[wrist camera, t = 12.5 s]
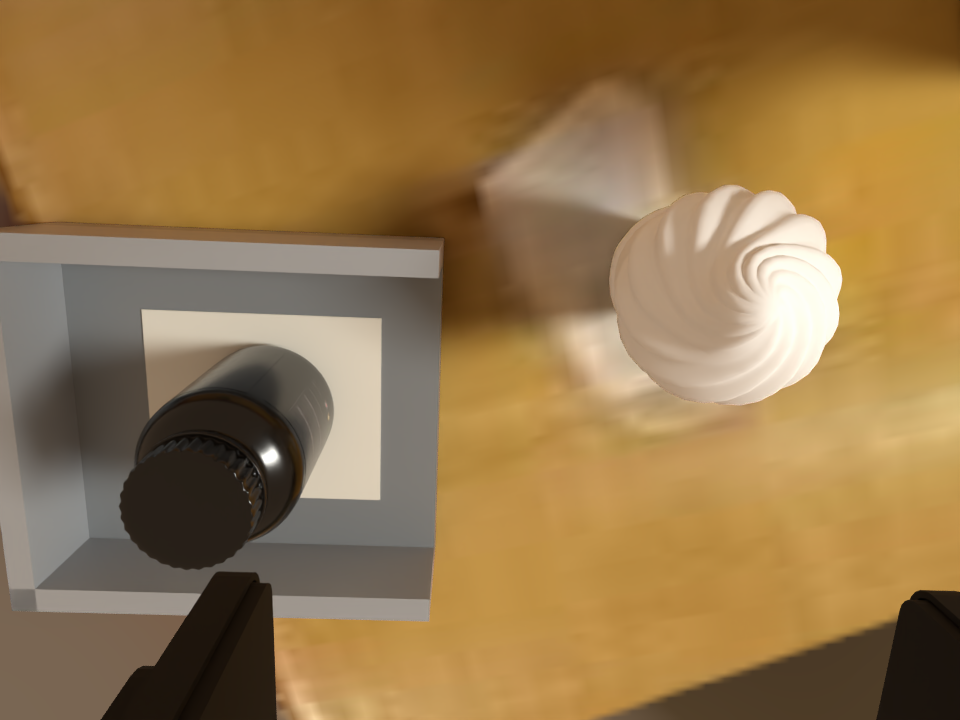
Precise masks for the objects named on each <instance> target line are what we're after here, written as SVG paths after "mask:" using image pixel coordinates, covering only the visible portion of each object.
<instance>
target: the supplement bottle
mask: <svg viewBox="0 0 960 720" xmlns="http://www.w3.org/2000/svg"><path fill="white" fill-rule="evenodd" d="M333 418H334V404H333V398H332V395H331V391H330V389H329V386H328V384H327V382H326V381H325V379H324V377H323V376H322V374H321V373H320V372H319V371H318V369H317V368H316V367H315V366H314V365H313V364H312V363H311V362H309V361H308V360H307V359H305V358H304V357H302V356H301V355H299V354H297V353H295V352H293V351H291V350H288V349H285V348H281V347H277V346H269V345H258V346H250V347H246V348H243V349H240V350H237V351H235V352H233V353H231V354H229V355H228V356H226V357H224V358H223V359H222V360H220V361H219V362H218V363H216V364H215V365H214V366H212V367H211V368H210V369H209V370H207V371H206V372H205V373H203V374H202V375H201V376H200V377H198V378H197V379H196V380H195V381H193V382H192V383H191V384H190V385H188V386H187V387H186V388H185V389H183V390H182V391H181V392H179V393H178V394H177V395H176V396H174V397H173V398H172V399H171V400H169V401H168V402H167V403H166V404H164V405H163V406H162V407H161V408H160V409H159V410H158V411H157V412H156V413H155V414H154V415H153V416H152V417H151V418H150V420H149V421H148V422H147V424H146V425H145V427H144V428H143V430H142V432H141V434H140V437H139V439H138V442H137V445H136V449H135V456H134V468H133V469H132V470H131V471H130V473H129V476H128V478H127V479H126V480H125V481H124V483H123V490H122V492H121V493H120V499H121V502H120V504H119V508H120V511H121V517H120V518H121V520H122V522H123V523H124V530H125V531H126V532H127V533H128V534H129V535H130V539H131V541H133V542H134V543H135V544H137V546H138V548H139V550H141V551H143V552H145V553H146V554H147V555H148V556H149V557H150V558H152V559H156V560H157V561H158V562H159V563H161V564H165V565H169V566H171V567H172V568H182V569H184V570H190V569H197V570H200V569H202V568H204V567H213V566H214V565H215V564H220V563H224V562H225V561H226V560H227V558H231V557H233V556H234V555H235V554H236V553H237V551H238V550H240V549H241V548H243V546H244V545H245V543H247V542H250V541H253V540H256V539H258V538H260V537H263V536H264V535H266V534H268V533H270V532H271V531H272V530H274V529H275V528H277V527H278V526H279V525H280V524H281V523H282V522H283V521H284V520H285V519H286V518H287V517H288V515H289V514H290V513H291V511H292V510H293V508H294V507H295V505H296V503H297V502H298V500H299V498H300V496H301V494H302V492H303V490H304V488H305V485H306V483H307V481H308V479H309V477H310V475H311V473H312V471H313V469H314V467H315V465H316V462H317V460H318V458H319V456H320V454H321V452H322V450H323V448H324V446H325V443H326V441H327V439H328V437H329V434H330V431H331V428H332V424H333Z"/></svg>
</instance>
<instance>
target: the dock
mask: <svg viewBox="0 0 960 720" xmlns="http://www.w3.org/2000/svg"><path fill="white" fill-rule="evenodd" d="M443 261H444V238H434V237H409V236H385V235H361V234H336V233H312V232H288V231H263V230H239V229H214V228H190V227H166V226H141V225H117V224H92V223H68V222H50V223H39V224H29V225H18V226H8V227H0V526H1V533H2V540H3V547H4V555H5V562H6V569H7V576H8V584H9V591H10V599H11V606H12V611H37V612H41V611H42V612H78V613H117V614H157V615H159V614H160V615H188V614H189V612H190V611H191V609H192V608H193V606H194V604H195V603H196V601H197V600H198V598H199V597H200V595H201V594H202V592H203V591H204V589H205V587H206V586H207V584H208V583H209V581H210V580H211V578H212V577H213V575H214V574H215V573H216V572H219V571H226V572H256V573H257V574H258V576H259V579H260V583H270V584H271V587H272V597H273V617H276V618H316V619H356V620H396V621H429V615H430V603H431V592H432V580H433V568H434V556H435V535H436V501H437V467H438V433H439V398H440V364H441V330H442V295H443ZM258 345H269V346H277V347H281V348H285V349H288V350H291V351H293V352H295V353H297V354H299V355H301V356H302V357H304V358H305V359H307V360H308V361H309V362H311V363H312V364H313V365H314V366H315V367H316V368H317V369H318V371H319V372H320V373H321V374H322V376H323V377H324V379H325V381H326V382H327V384H328V386H329V389H330V391H331V395H332V398H333V404H334V418H333V424H332V428H331V431H330V434H329V437H328V439H327V441H326V443H325V446H324V448H323V450H322V452H321V454H320V456H319V458H318V460H317V462H316V465H315V467H314V469H313V471H312V473H311V475H310V477H309V479H308V481H307V483H306V485H305V488H304V490H303V492H302V494H301V496H300V498H299V500H298V502H297V503H296V505H295V507H294V508H293V510H292V511H291V513H290V514H289V515H288V517H287V518H286V519H285V520H284V521H283V522H282V523H281V524H280V525H279V526H278V527H277V528H275V529H274V530H272V531H271V532H270V533H268V534H266V535H264V536H263V537H260V538H258V539H256V540H253V541H250V542H247V543H245V545H244V546H243V548H241V549H240V550H238V551H237V553H236V554H235V555H234V556H233V557H231V558H227V560H226V561H225V562H224V563H220V564H215V565H214V566H213V567H204V568H202V569H200V570H197V569H190V570H184V569H182V568H172V567H171V566H169V565H165V564H161V563H159V562H158V561H157V560H156V559H152V558H150V557H149V556H148V555H147V554H146V553H145V552H143V551H141V550H139V548H138V546H137V544H135V543H134V542H133V541H131V539H130V535H129V534H128V533H127V532H126V531H125V530H124V523H123V522H122V520H121V518H120V517H121V511H120V508H119V504H120V502H121V499H120V493H121V492H122V490H123V483H124V481H125V480H126V479H127V478H128V476H129V473H130V471H131V470H132V469H133V468H134V456H135V449H136V445H137V442H138V439H139V437H140V434H141V432H142V430H143V428H144V427H145V425H146V424H147V422H148V421H149V420H150V418H151V417H152V416H153V415H154V414H155V413H156V412H157V411H158V410H159V409H160V408H161V407H162V406H163V405H164V404H166V403H167V402H168V401H169V400H171V399H172V398H173V397H174V396H176V395H177V394H178V393H179V392H181V391H182V390H183V389H185V388H186V387H187V386H188V385H190V384H191V383H192V382H193V381H195V380H196V379H197V378H198V377H200V376H201V375H202V374H203V373H205V372H206V371H207V370H209V369H210V368H211V367H212V366H214V365H215V364H216V363H218V362H219V361H220V360H222V359H223V358H224V357H226V356H228V355H229V354H231V353H233V352H235V351H237V350H240V349H243V348H246V347H250V346H258Z"/></svg>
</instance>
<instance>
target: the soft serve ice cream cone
mask: <svg viewBox="0 0 960 720" xmlns="http://www.w3.org/2000/svg"><path fill="white" fill-rule="evenodd" d="M841 284H842V275H841V270H840V267H839V266H838V265H837V263H836V262H835V261H834V260H833V259H832V257H831V256H830V255H828V254H826V236H825V231H824V229H823V227H822V225H821V223H820V222H819V221H818V220H816V219H815V218H813V217H810V216H807V215H805V214H796V211H795V208H794V206H793V205H792V203H791V202H790V201H789V200H788V199H787V198H786V197H785V196H784V195H783V194H782V193H780V192H776V191H771V190H768V191H761V192H759V193H757V194H755V195H754V194H753V193H752V192H750V191H749V190H747V189H745V188H743V187H741V186H738V185H723V186H721V187H719V188H717V189H715V190H713V191H712V192H710V193H705V192H697V193H692V194H687V195H684V196H682V197H681V198H679V199H678V200H676V201H675V202H673V203H672V204H671V205H670V206H668V207H665V208H662V209H659V210H656V211H654V212H652V213H651V214H649V215H647V216H645V217H644V218H642V219H641V220H640V221H639V222H637V223H636V224H635V225H634V226H633V227H632V228H631V229H630V230H629V231H628V232H627V234H626V235H625V236H624V237H623V239H622V240H621V241H620V242H619V244H618V245H617V247H616V249H615V251H614V255H613V258H612V264H611V267H610V276H609V286H610V296H611V299H612V302H613V306H614V309H615V310H616V312H617V323H618V328H619V333H620V338H621V340H622V342H623V344H624V346H625V348H626V351H627V353H628V355H629V356H630V357H631V358H632V359H633V360H634V362H635V363H636V364H637V365H638V366H639V367H640V368H641V369H642V370H643V371H644V372H646V373H647V374H648V375H649V377H650V378H651V379H652V380H653V381H654V382H656V383H657V384H658V385H659V386H660V387H662V388H663V389H664V390H665V391H667V392H669V393H671V394H673V395H675V396H677V397H679V398H682V399H684V400H689V401H695V402H701V403H710V402H714V403H717V404H724V405H744V404H749V403H753V402H758V401H761V400H763V399H765V398H766V397H768V396H770V395H772V394H774V393H776V392H777V391H779V390H780V389H781V388H784V387H787V386H790V385H792V384H795V383H796V382H797V381H799V380H800V379H802V378H803V377H805V376H806V375H808V374H809V373H810V371H811V370H812V369H813V368H814V366H815V365H816V364H817V363H818V361H819V358H820V356H821V353H822V351H823V348H824V346H825V345H826V344H827V343H828V341H829V340H830V339H831V338H832V336H833V334H834V332H835V330H836V328H837V326H838V320H839V307H838V303H837V297H838V294H839V291H840V288H841Z"/></svg>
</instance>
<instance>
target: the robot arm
mask: <svg viewBox="0 0 960 720" xmlns="http://www.w3.org/2000/svg"><path fill="white" fill-rule="evenodd" d="M101 720H277V715H276V685H275V656H274V627H273V597H272V587H271V584H270V583H260V579H259V576H258V574H257V573H256V572H226V571H219V572H216V573H215V574H214V575H213V577H212V578H211V580H210V581H209V583H208V584H207V586H206V587H205V589H204V591H203V592H202V594H201V595H200V597H199V598H198V600H197V601H196V603H195V604H194V606H193V608H192V609H191V611H190V612H189V614H188V615H187V617H186V618H185V620H184V622H183V623H182V625H181V626H180V628H179V629H178V631H177V632H176V634H175V636H174V637H173V639H172V640H171V642H170V643H169V645H168V646H167V648H166V650H165V651H164V653H163V654H162V656H161V657H160V659H159V661H158V662H157V664H156V665H155V666H142V667H140V668H138V669H137V670H136V671H135V672H134V673H133V674H132V675H131V676H130V678H129V679H128V681H127V682H126V684H125V685H124V687H123V688H122V690H121V691H120V693H119V694H118V695H117V697H116V698H115V700H114V701H113V703H112V704H111V706H110V707H109V709H108V710H107V711H106V713H105V714H104V716H103V717H102V719H101ZM876 720H960V592H957V591H930V590H919V591H917V592H915V593H914V594H913V595H912V596H911V598H910V600H907V601H905V602H904V603H903V604H902V605H901V608H900V612H899V616H898V621H897V626H896V630H895V635H894V640H893V645H892V649H891V654H890V659H889V663H888V668H887V673H886V678H885V682H884V687H883V691H882V696H881V701H880V705H879V711H878V715H877V719H876Z"/></svg>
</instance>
